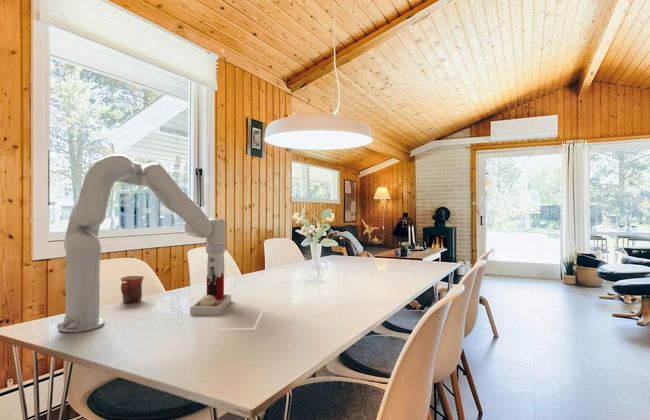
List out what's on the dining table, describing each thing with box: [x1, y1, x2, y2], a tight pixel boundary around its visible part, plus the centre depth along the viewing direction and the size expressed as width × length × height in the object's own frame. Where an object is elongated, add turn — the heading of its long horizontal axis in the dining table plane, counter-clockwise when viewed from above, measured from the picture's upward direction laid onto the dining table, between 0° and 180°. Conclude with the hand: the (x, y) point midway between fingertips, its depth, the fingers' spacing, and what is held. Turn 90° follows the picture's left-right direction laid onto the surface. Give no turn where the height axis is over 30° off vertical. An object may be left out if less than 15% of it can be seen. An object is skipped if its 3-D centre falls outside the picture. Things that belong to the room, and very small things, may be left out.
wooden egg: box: [201, 294, 217, 306], centre depth 143 cm, size 6×6×6 cm
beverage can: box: [206, 272, 225, 300], centre depth 153 cm, size 7×7×12 cm
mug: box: [120, 275, 145, 304], centre depth 157 cm, size 12×9×10 cm
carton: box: [189, 294, 232, 316], centre depth 148 cm, size 20×11×4 cm, turn 2°
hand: (215, 292), depth 153 cm, fingers closed on beverage can, 6 cm apart
